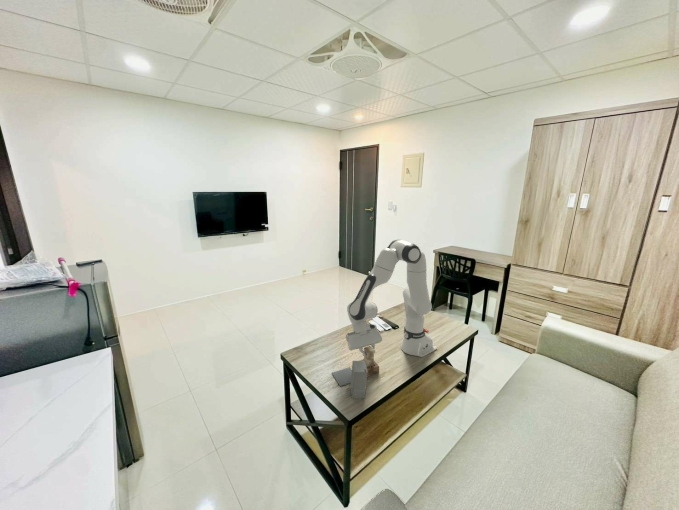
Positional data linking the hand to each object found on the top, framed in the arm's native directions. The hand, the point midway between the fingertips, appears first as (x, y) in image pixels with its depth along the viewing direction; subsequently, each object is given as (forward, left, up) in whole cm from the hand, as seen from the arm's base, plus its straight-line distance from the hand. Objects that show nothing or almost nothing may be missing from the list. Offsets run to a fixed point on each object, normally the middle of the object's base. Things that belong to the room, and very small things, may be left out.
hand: (369, 354), depth 148 cm
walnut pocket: (0, -1, -10) cm, 10 cm away
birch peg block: (0, -1, -7) cm, 7 cm away
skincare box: (+13, +12, -11) cm, 21 cm away
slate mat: (+14, -1, -10) cm, 18 cm away
